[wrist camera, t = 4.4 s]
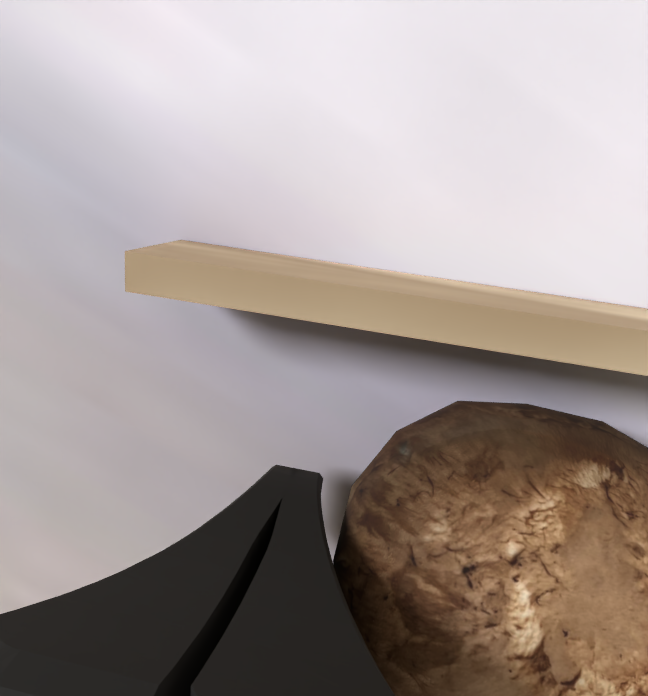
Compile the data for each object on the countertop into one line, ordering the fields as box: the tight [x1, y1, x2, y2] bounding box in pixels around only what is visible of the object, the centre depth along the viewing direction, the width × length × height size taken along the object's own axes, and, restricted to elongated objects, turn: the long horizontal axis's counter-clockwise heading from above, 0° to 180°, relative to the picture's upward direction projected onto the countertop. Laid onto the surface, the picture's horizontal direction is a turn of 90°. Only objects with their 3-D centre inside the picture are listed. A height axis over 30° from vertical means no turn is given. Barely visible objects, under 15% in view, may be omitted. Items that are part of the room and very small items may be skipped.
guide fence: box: [125, 240, 648, 376], centre depth 11 cm, size 12×17×4 cm
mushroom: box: [333, 401, 648, 696], centre depth 10 cm, size 8×8×6 cm
